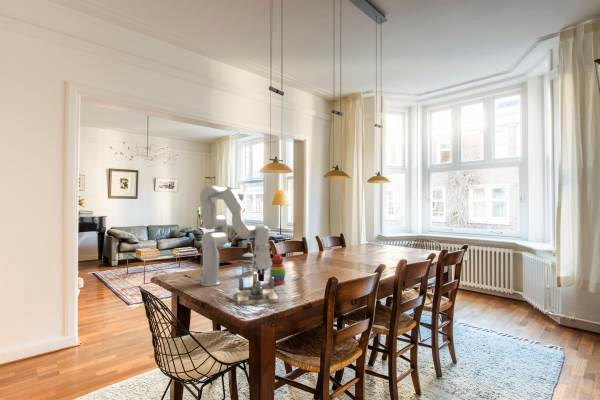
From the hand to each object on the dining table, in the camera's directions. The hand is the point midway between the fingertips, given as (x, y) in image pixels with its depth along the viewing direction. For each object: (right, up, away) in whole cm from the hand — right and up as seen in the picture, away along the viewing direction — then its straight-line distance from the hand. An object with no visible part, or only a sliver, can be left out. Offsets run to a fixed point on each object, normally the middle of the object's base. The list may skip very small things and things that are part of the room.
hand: (261, 280), depth 179 cm
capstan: (-1, -4, -11) cm, 12 cm away
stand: (-1, -6, -11) cm, 13 cm away
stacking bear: (+7, -7, +20) cm, 23 cm away
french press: (-13, -7, +40) cm, 42 cm away
